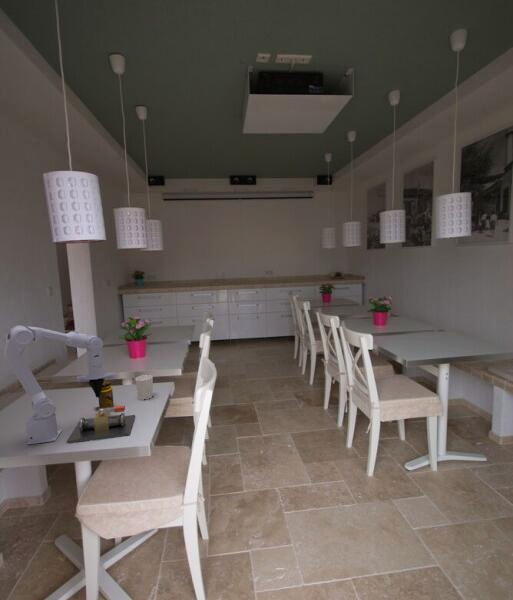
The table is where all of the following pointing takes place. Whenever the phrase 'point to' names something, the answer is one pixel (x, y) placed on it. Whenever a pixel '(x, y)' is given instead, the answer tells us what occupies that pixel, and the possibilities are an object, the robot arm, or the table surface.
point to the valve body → (102, 427)
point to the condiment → (105, 397)
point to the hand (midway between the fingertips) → (98, 396)
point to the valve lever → (111, 409)
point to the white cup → (144, 386)
